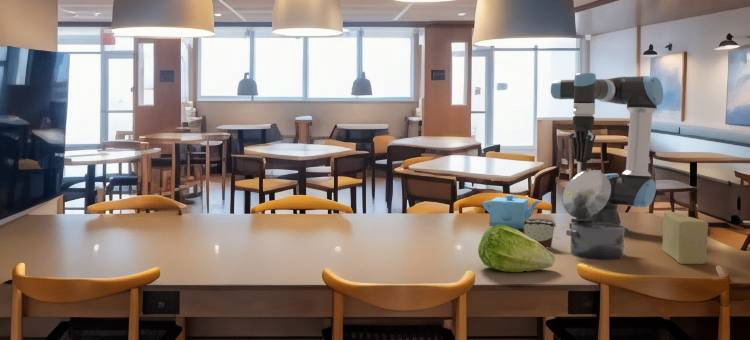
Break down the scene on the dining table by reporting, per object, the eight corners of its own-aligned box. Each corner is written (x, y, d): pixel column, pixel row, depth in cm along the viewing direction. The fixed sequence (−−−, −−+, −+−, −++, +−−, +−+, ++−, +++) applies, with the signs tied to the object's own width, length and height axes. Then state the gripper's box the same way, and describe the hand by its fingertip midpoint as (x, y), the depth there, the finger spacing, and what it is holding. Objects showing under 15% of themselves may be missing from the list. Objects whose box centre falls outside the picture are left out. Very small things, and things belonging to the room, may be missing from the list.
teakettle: (478, 227, 304) (479, 193, 302) (515, 224, 311) (516, 191, 309) (503, 235, 286) (504, 199, 285) (541, 231, 294) (542, 196, 292)
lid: (559, 224, 257) (554, 219, 261) (605, 222, 263) (599, 217, 266) (570, 173, 249) (565, 168, 253) (617, 171, 255) (611, 167, 258)
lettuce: (540, 278, 236) (546, 297, 221) (472, 252, 237) (473, 269, 221) (558, 239, 232) (566, 256, 217) (489, 213, 233) (491, 227, 218)
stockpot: (551, 249, 259) (552, 222, 258) (606, 245, 266) (607, 219, 264) (582, 261, 240) (583, 232, 239) (640, 257, 246) (641, 229, 245)
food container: (556, 245, 266) (557, 219, 265) (555, 248, 261) (556, 221, 260) (523, 242, 270) (524, 217, 269) (521, 246, 265) (522, 219, 264)
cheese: (650, 250, 258) (652, 210, 257) (676, 250, 259) (678, 210, 257) (678, 264, 236) (680, 220, 235) (707, 264, 237) (709, 220, 235)
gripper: (565, 115, 263) (563, 177, 265) (584, 115, 250) (581, 181, 253) (582, 115, 265) (580, 177, 267) (602, 115, 252) (600, 181, 255)
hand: (581, 179), depth 260 cm, fingers closed
